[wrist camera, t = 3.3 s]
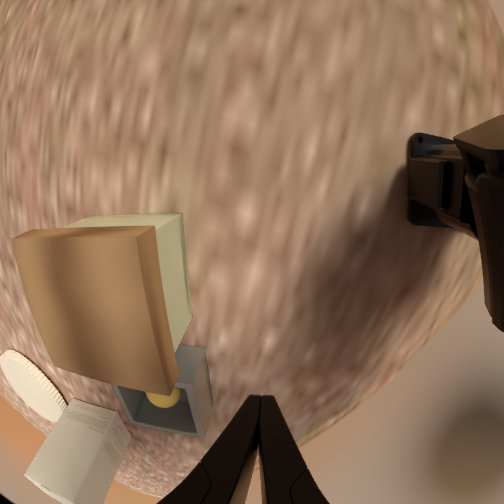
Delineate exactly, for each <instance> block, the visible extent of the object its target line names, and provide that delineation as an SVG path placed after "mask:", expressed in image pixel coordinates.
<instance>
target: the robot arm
mask: <svg viewBox="0 0 504 504" xmlns="http://www.w3.org/2000/svg"><path fill="white" fill-rule="evenodd" d="M417 137H419V138H420V140H421V141H420V143H419V142H418V141H417ZM453 139H454V140H450V139H446V138H442V137H438V136H434V135H429V134H424V133H414V134H413V135H412V154H411V159H410V161H409V181H408V196H409V206H408V215H407V219H408V222H409V223H411V224H413V225H419V226H434V227H447V228H455V229H457V230H459V231H461V232H463V233H465V234H467V235H469V236H470V237H472V238H474V239H476V240H478V241H479V246H480V253H481V261H482V270H483V281H484V296H485V305H486V307H487V309H488V312H489V314H490V316H491V317H492V323H493V324H494V325H495V326H496V327H497V328H498V329H499V330H500V331H502V332H504V115H500V116H497V117H495V118H493V119H491V120H488V121H486V122H484V123H482V124H480V125H478V126H476V127H473V128H471V129H469V130H467V131H465V132H463V133H461V134H458V135H456V136H454V137H453ZM414 215H416V219H415V220H413V216H414ZM258 446H259V465H260V480H261V494H262V504H329V502H328V501H327V500H326V498H325V497H324V495H323V494H322V492H321V491H320V489H319V488H318V486H317V484H316V482H315V481H314V479H313V477H312V475H311V473H310V471H309V469H307V465H306V463H305V461H304V459H303V457H302V455H301V453H300V451H299V449H298V447H297V445H296V443H295V440H294V438H293V436H292V434H291V432H290V430H289V428H288V426H287V423H286V421H285V419H284V417H283V415H282V413H281V410H280V408H279V406H278V404H277V402H276V399H275V397H274V396H273V395H262V397H261V395H253V394H251V395H249V396H248V397H247V399H246V400H245V402H244V403H243V404H242V406H241V407H240V409H239V410H238V411H237V413H236V414H235V416H234V417H233V418H232V420H231V421H230V423H229V424H228V425H227V427H226V428H225V429H224V431H223V432H222V433H221V435H220V436H219V437H218V439H217V440H216V441H215V443H214V444H213V445H212V447H211V448H210V449H209V450H208V452H207V453H206V454H205V456H204V457H203V458H202V459H201V461H200V462H201V463H200V462H199V463H198V464H197V465H196V467H195V468H194V469H193V470H192V471H191V473H190V474H189V475H188V476H187V477H186V478H185V479H184V480H183V481H182V482H181V483H180V484H179V485H178V486H177V487H176V488H175V489H174V490H172V491H171V492H170V493H169V494H168V495H167V496H165V497H164V498H163V499H162V500H161V501H159V502H158V503H157V504H245V500H246V497H247V493H248V489H249V485H250V481H251V478H252V474H253V469H254V465H255V461H256V457H257V452H258ZM0 504H15V503H14V502H12V501H11V500H10V499H8V498H7V497H5V496H4V495H3V494H2V493H0Z"/></svg>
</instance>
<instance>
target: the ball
mask: <svg viewBox="0 0 504 504" xmlns="http://www.w3.org/2000/svg"><path fill="white" fill-rule="evenodd" d="M146 395H147V397H148V399H149V401H150V402H151V403H152V404H154V405H155V406H158V407H161V408H168V407H171V406H173V405H175V404H176V403H177V402H178V400H179V398H180V395H181V390H180V388H176V387H174V388H173V391H172V393H171V396H165V395H160V394H154V393H149V392H146Z"/></svg>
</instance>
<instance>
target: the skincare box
mask: <svg viewBox="0 0 504 504" xmlns="http://www.w3.org/2000/svg"><path fill="white" fill-rule="evenodd" d="M130 440H131V435H130V433H129V431H128V429H127V428H126V426H125V424H124V422H123V420H122V419H121V417H120V415H119V413H118V412H117V411H113V410H109V409H106V408H102V407H99V406H96V405H92V404H89V403H86V402H83V401H80V400H77V399H74V398H73V399H72V400H71V402H70V403H69V405H68V406H67V408H66V409H65V411H64V412H63V414H62V415H61V417H60V418H59V420H58V421H57V423H56V424H55V426H54V427H53V429H52V430H51V432H50V433H49V435H48V436H47V438H46V440H45V441H44V443H43V444H42V446H41V447H40V449H39V451H38V452H37V454H36V456H35V457H34V459H33V460H32V462H31V464H30V466H29V467H28V469H27V470H26V471H25V473H24V475H25V476H26V477H27V478H28V479H29V480H30V481H31V482H33V483H34V484H35V485H36V486H37V487H39V488H40V489H41V490H42V491H44V492H45V493H46V494H48V495H49V496H51V497H52V498H54V499H56V500H58V501H59V502H61V503H63V504H103V503H104V501H105V498H106V495H107V493H108V491H109V488H110V486H111V484H112V481H113V479H114V476H115V474H116V472H117V469H118V467H119V465H120V462H121V460H122V458H123V455H124V453H125V451H126V448H127V446H128V444H129V442H130Z"/></svg>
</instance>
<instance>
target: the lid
mask: <svg viewBox="0 0 504 504" xmlns="http://www.w3.org/2000/svg"><path fill="white" fill-rule="evenodd" d="M12 244H13V249H14V254H15V258H16V262H17V266H18V270H19V274H20V277H21V281H22V284H23V288H24V291H25V294H26V297H27V300H28V303H29V306H30V309H31V312H32V315H33V317H34V320H35V323H36V325H37V328H38V330H39V333H40V335H41V338H42V340H43V343H44V345H45V347H46V349H47V352H48V354H49V356H50V358H51V360H52V362H53V364H54V366H56V367H58V368H61V369H64V370H67V371H70V372H73V373H76V374H79V375H82V376H86V377H89V378H92V379H96V380H99V381H103V382H106V383H110V384H114V385H118V386H122V387H126V388H131V389H135V390H140V391H144V392H149V393H154V394H160V395H165V396H171V393H172V391H173V388H174V386H175V384H176V381H177V379H178V376H179V370H178V366H177V361H176V357H175V352H174V347H173V343H172V338H171V332H170V327H169V322H168V316H167V311H166V305H165V299H164V292H163V286H162V279H161V272H160V265H159V257H158V249H157V240H156V230H155V225H154V226H108V227H78V228H54V229H34V230H30V231H28V232H26V233H23V234H21V235H19V236H17V237H14V238H12Z"/></svg>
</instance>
